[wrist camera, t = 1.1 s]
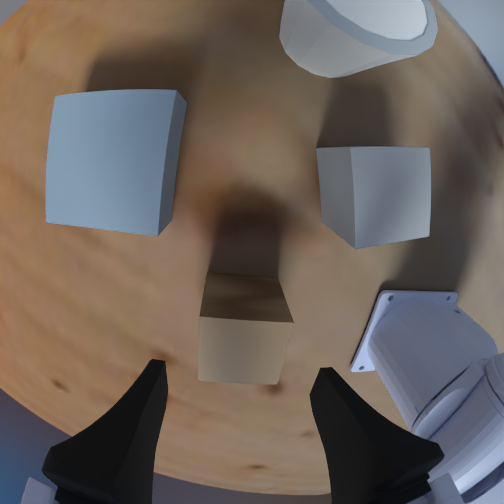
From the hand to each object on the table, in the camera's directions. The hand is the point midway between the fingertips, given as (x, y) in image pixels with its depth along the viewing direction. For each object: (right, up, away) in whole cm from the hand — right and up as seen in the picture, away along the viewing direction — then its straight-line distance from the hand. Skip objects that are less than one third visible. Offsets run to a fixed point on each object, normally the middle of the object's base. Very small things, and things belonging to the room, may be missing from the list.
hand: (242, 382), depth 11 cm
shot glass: (+5, +19, +1) cm, 20 cm away
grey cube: (+7, +10, +4) cm, 13 cm away
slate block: (-7, +12, +3) cm, 14 cm away
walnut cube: (0, +2, +7) cm, 7 cm away
